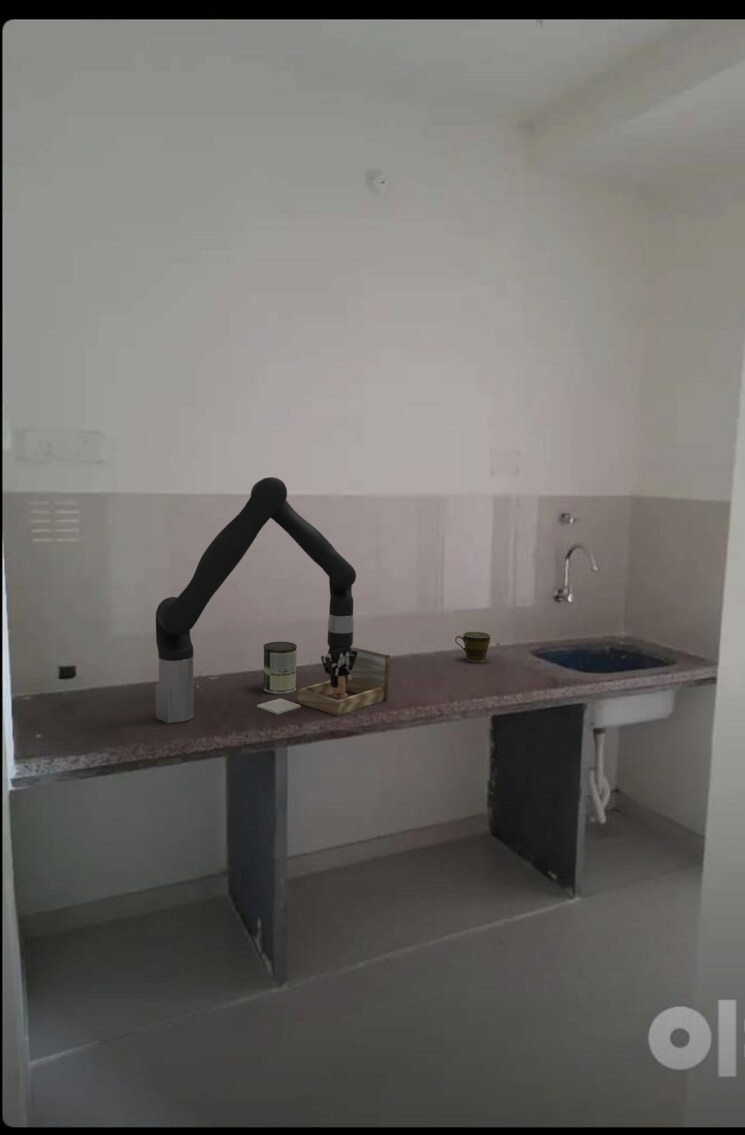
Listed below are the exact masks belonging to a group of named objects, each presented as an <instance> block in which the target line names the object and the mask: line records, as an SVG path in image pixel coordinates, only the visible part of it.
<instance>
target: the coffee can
mask: <svg viewBox="0 0 745 1135" xmlns="http://www.w3.org/2000/svg"><path fill="white" fill-rule="evenodd" d="M297 648H298V645H297V644H296V643H293V642H290V641H271V642H267V643H265V644H263V688H262V689H263V691H265V692H266V693H269V694H275V695H276V694H277V695H278V694H279V695H281V694H289V693H292V692H295V691H296V690H297V686H296V685H297V681H296V680H297Z"/></svg>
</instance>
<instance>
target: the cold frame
mask: <svg viewBox="0 0 745 1135" xmlns="http://www.w3.org/2000/svg"><path fill="white" fill-rule="evenodd" d="M351 650H355V651H357V656H356V659H355V663H354V666H353V669H352V670H349V673H350V676H351V681H349V680H348V678H347V682H346V685H345V688H346V692H350V693H353V694H354V695H350V696H347V697H343V698H340V699H334V698H332V697H329V696H330V695H333V687H331V685H330V680H326V681H323V682H319V683H316V684H312V685H310V686H305V687H302V688H298V689H297V704H300V705H304V706H306V707H307V706H308V707H310V708H313V709H316V710H320V711H322V712H326V713H329V714H331V715H333V716H334V715H335V716H336V717H337V716H338V717H339V716H342V715H344V714H347V713H350V712H354V711H356V710H360V709H361V708H365V707H367V706H371V705H373V704H377V703H380V702H383V701H386V702H387V701H389V696H390V695H389V694H390V669H391V666H390V664H391V662H390V661H391V655H390V654H386V653H382V652H378V651H373V650H369V649H365V648H361V647H358V646H353V645H352V646H351ZM350 663H351V662H349V666H350Z"/></svg>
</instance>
